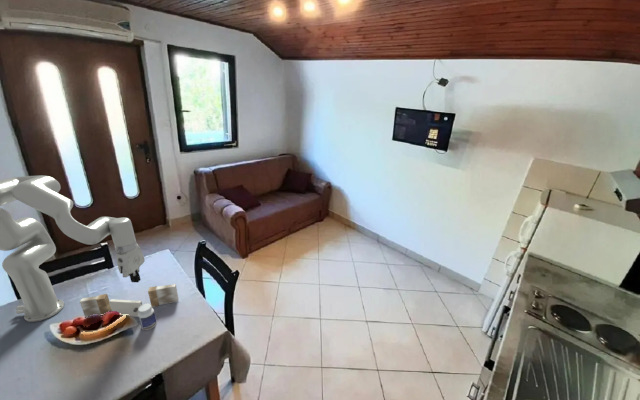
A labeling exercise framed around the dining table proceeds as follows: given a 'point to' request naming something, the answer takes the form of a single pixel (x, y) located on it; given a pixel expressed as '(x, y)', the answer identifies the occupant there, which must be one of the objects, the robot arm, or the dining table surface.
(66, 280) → the dining table surface
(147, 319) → the pill bottle
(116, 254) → the robot arm
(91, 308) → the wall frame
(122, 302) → the white rectangular slab
